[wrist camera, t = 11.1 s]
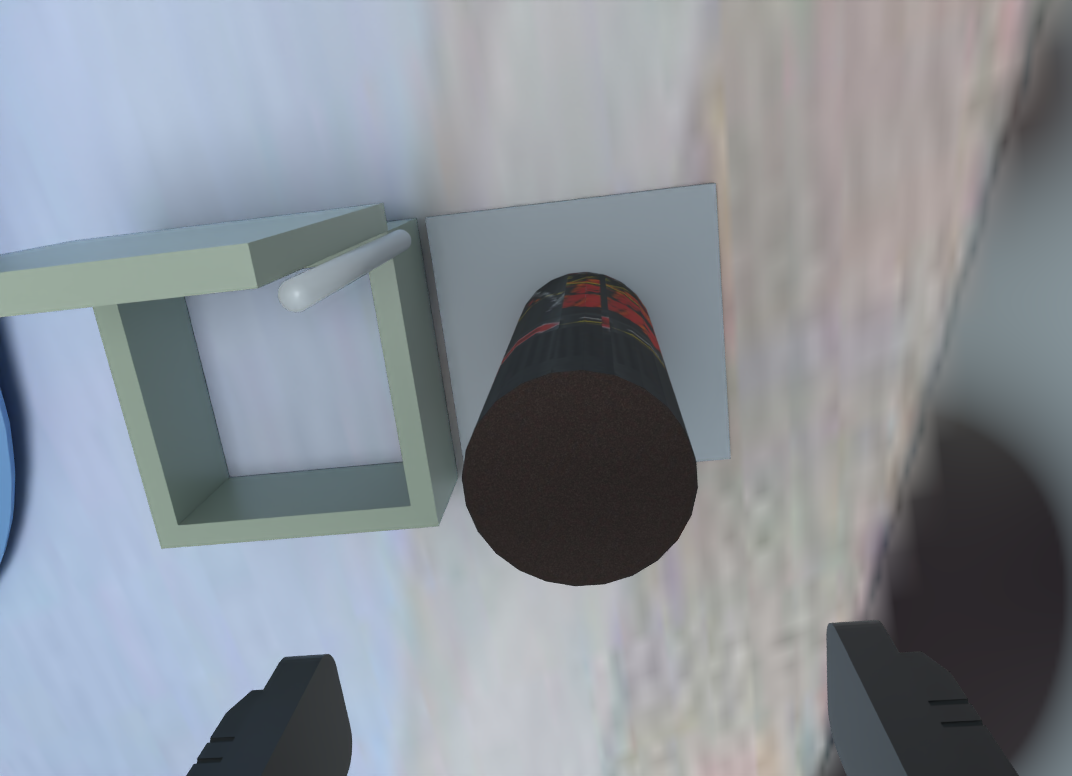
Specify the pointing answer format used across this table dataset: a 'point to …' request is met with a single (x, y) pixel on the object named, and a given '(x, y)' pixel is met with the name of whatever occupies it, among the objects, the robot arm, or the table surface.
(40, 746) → the table surface
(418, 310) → the case
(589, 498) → the deodorant
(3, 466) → the island diorama
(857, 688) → the robot arm
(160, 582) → the table surface
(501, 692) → the table surface
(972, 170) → the table surface
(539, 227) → the mat
